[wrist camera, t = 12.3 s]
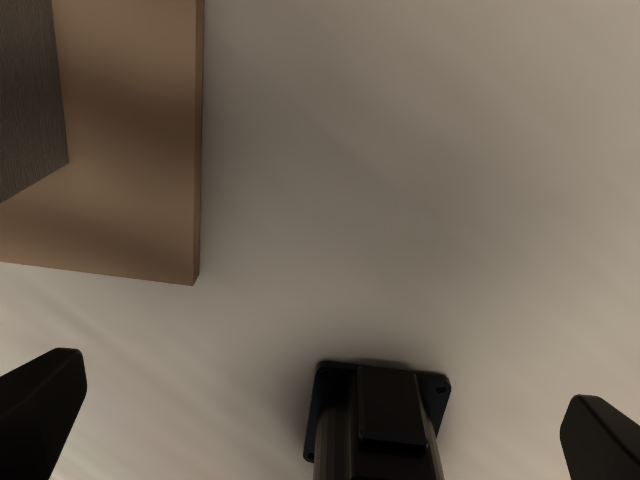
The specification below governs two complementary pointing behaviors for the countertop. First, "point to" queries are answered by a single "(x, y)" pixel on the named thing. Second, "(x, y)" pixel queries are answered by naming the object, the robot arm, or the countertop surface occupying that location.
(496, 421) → the countertop surface
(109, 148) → the post base
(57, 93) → the square tube
